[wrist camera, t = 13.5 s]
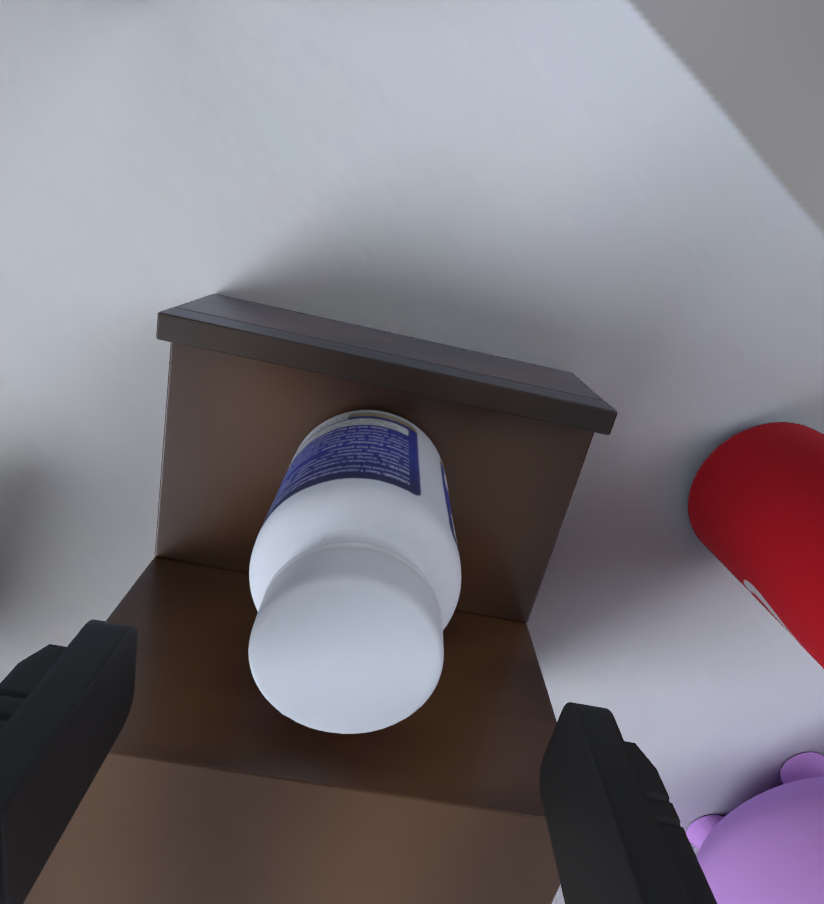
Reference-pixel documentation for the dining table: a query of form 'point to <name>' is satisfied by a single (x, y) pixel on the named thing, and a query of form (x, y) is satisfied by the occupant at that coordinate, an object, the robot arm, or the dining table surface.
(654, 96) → the dining table surface
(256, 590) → the pill bottle
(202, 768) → the rack
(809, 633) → the beverage can
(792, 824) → the teapot
